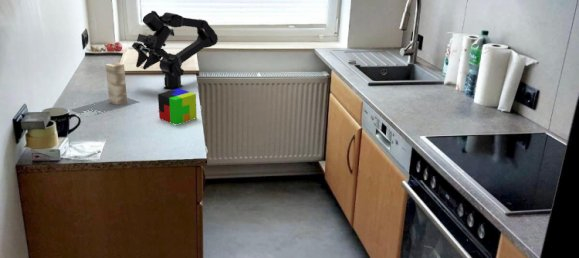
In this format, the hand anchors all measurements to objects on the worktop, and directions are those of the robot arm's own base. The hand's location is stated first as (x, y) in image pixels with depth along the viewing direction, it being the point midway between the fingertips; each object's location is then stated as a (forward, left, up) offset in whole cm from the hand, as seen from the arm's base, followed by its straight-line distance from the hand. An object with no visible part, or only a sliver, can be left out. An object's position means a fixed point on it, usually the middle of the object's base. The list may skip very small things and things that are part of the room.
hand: (140, 68), depth 223 cm
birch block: (+4, +11, -12) cm, 17 cm away
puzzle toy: (-26, +18, -13) cm, 34 cm away
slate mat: (+6, +17, -13) cm, 22 cm away
